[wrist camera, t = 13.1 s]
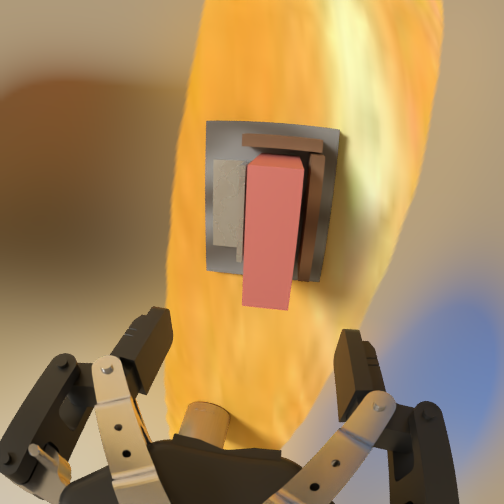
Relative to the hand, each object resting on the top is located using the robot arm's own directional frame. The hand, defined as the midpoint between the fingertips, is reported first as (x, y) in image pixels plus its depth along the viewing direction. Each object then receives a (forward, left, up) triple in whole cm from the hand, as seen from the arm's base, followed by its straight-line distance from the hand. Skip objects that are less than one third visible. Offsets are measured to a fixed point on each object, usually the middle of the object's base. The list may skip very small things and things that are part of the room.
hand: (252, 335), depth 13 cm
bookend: (0, +5, -20) cm, 21 cm away
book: (0, 0, -20) cm, 20 cm away
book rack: (0, +1, -22) cm, 22 cm away
